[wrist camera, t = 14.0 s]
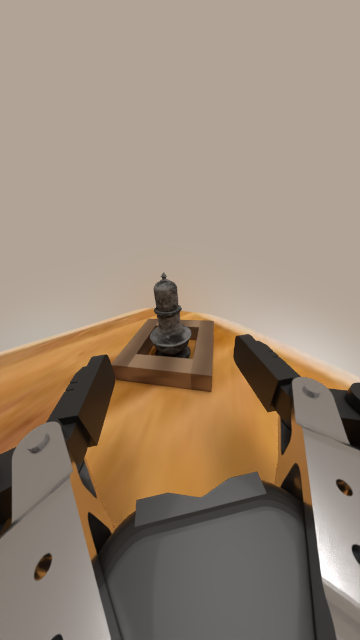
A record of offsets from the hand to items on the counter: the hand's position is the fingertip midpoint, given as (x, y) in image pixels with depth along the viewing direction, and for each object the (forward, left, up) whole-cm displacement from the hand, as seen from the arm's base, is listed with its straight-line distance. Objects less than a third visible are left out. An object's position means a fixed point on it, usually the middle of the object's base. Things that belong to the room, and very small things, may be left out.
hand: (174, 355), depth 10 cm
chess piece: (-4, +10, -9) cm, 14 cm away
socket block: (-4, +10, -9) cm, 14 cm away
